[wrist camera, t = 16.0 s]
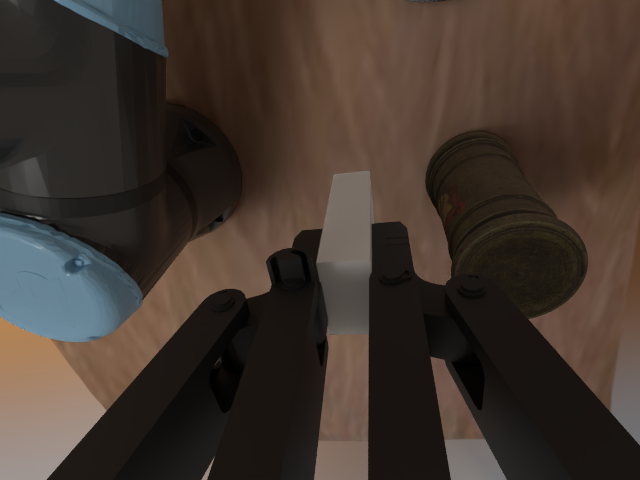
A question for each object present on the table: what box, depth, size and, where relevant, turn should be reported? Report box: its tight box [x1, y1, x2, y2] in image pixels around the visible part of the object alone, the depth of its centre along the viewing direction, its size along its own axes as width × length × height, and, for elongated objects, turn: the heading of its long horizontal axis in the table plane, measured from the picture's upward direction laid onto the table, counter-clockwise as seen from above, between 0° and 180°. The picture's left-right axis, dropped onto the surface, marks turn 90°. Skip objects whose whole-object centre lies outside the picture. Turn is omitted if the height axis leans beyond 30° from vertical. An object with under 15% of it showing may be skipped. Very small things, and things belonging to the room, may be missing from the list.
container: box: [425, 132, 588, 319], centre depth 34 cm, size 9×9×18 cm
